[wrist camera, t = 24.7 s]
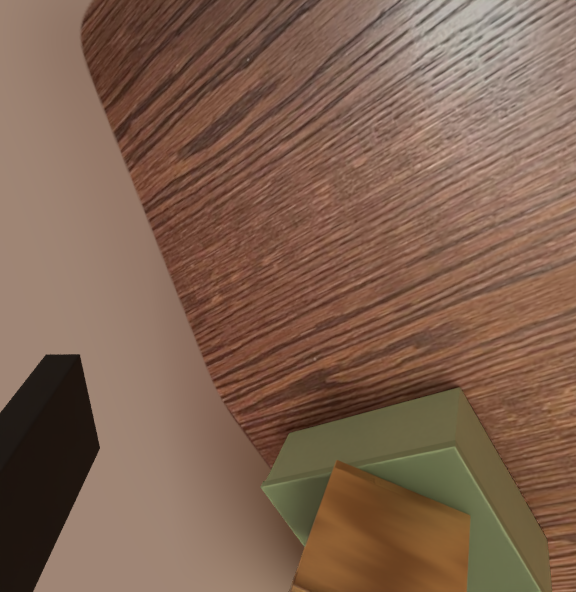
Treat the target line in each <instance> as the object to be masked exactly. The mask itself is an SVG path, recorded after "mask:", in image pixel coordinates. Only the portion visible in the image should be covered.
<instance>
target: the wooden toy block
mask: <svg viewBox="0 0 576 592" xmlns="http://www.w3.org/2000/svg"><path fill="white" fill-rule="evenodd" d="M469 537H470V515H468V514H466V513H463V512H461V511H459V510H456V509H454V508H451V507H449V506H447V505H444V504H442V503H439V502H437V501H435V500H432V499H430V498H427V497H425V496H423V495H420V494H418V493H415V492H413V491H411V490H408V489H406V488H403V487H401V486H399V485H396V484H394V483H391V482H389V481H387V480H384V479H382V478H379V477H377V476H375V475H372V474H370V473H367V472H365V471H363V470H360V469H358V468H355V467H353V466H351V465H348V464H346V463H343V462H341V461H339V460H336V462H335V465H334V467H333V470H332V473H331V476H330V478H329V481H328V484H327V487H326V489H325V492H324V495H323V498H322V500H321V503H320V506H319V509H318V512H317V514H316V517H315V520H314V523H313V525H312V528H311V531H310V534H309V536H308V539H307V542H306V545H305V548H304V550H303V554H302V556H301V559H300V562H299V565H298V567H297V570H296V573H295V576H294V578H293V581H292V584H291V587H290V590H289V592H467V576H468V557H469Z"/></svg>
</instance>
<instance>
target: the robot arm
mask: <svg viewBox="0 0 576 592" xmlns="http://www.w3.org/2000/svg"><path fill="white" fill-rule="evenodd" d="M99 449H100V446H99V441H98V437H97V432H96V427H95V423H94V418H93V414H92V409H91V404H90V400H89V395H88V391H87V386H86V381H85V377H84V372H83V367H82V363H81V358H80V355H79V354H77V355H76V354H71V355H70V354H69V355H45V357H44V358H43V359H42V360H41V362H40V363H39V364H38V365H37V367H36V368H35V369H34V371H33V372H32V373H31V374H30V376H29V377H28V378H27V380H26V381H25V382H24V383H23V385H22V386H21V387H20V389H19V390H18V391H17V392H16V393H15V395H14V396H13V397H12V399H11V400H10V401H9V403H8V404H7V405H6V407H5V408H4V409H3V410H2V411H1V413H0V592H33V590H34V588H35V586H36V584H37V582H38V580H39V577H40V575H41V573H42V571H43V569H44V567H45V565H46V562H47V561H48V558H49V556H50V554H51V552H52V550H53V548H54V545H55V543H56V541H57V539H58V537H59V535H60V533H61V530H62V528H63V526H64V524H65V522H66V520H67V518H68V516H69V513H70V511H71V509H72V507H73V505H74V502H75V501H76V498H77V496H78V494H79V492H80V490H81V487H82V486H83V483H84V481H85V479H86V477H87V475H88V473H89V471H90V468H91V466H92V464H93V462H94V460H95V458H96V456H97V453H98V451H99Z"/></svg>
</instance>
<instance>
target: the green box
mask: <svg viewBox="0 0 576 592" xmlns="http://www.w3.org/2000/svg"><path fill="white" fill-rule="evenodd" d="M336 460H339V461H341V462H343V463H346V464H348V465H351V466H353V467H355V468H358V469H360V470H363V471H365V472H367V473H370V474H372V475H375V476H377V477H379V478H382V479H384V480H387V481H389V482H391V483H394V484H396V485H399V486H401V487H403V488H406V489H408V490H411V491H413V492H415V493H418V494H420V495H423V496H425V497H427V498H430V499H432V500H435V501H437V502H439V503H442V504H444V505H447V506H449V507H451V508H454V509H456V510H459V511H461V512H463V513H466V514H468V515H470V537H469V557H468V576H467V592H552V584H551V574H550V563H549V553H548V542H547V539H546V537H545V535H544V533H543V532H542V530H541V528H540V526H539V525H538V523H537V521H536V519H535V518H534V516H533V514H532V512H531V511H530V509H529V507H528V505H527V504H526V502H525V500H524V498H523V497H522V495H521V493H520V491H519V490H518V488H517V486H516V484H515V483H514V481H513V479H512V477H511V476H510V474H509V472H508V470H507V469H506V467H505V465H504V463H503V462H502V460H501V458H500V456H499V455H498V453H497V451H496V449H495V448H494V446H493V444H492V442H491V441H490V439H489V437H488V435H487V434H486V432H485V430H484V428H483V427H482V425H481V423H480V421H479V420H478V418H477V416H476V414H475V413H474V411H473V409H472V407H471V406H470V404H469V402H468V400H467V399H466V397H465V395H464V393H463V392H462V390H461V388H460V387H458V388H455V389H451V390H447V391H444V392H440V393H436V394H432V395H429V396H425V397H421V398H418V399H414V400H410V401H407V402H403V403H399V404H396V405H392V406H388V407H384V408H381V409H377V410H373V411H370V412H366V413H362V414H359V415H355V416H351V417H347V418H344V419H340V420H336V421H333V422H329V423H325V424H322V425H318V426H314V427H311V428H307V429H303V430H299V431H296V432H292V433H289V434H288V436H287V439H286V441H285V443H284V445H283V447H282V449H281V451H280V453H279V455H278V457H277V459H276V461H275V463H274V465H273V467H272V469H271V471H270V473H269V475H268V477H267V480H266V481H263V483H262V485H261V488H262V490H263V491H264V492H265V494H266V495H267V497H268V498H269V499H270V501H271V502H272V503H273V505H274V506H275V508H276V509H277V510H278V512H279V513H280V514H281V516H282V517H283V518H284V520H285V521H286V522H287V524H288V525H289V526H290V528H291V529H292V531H293V532H294V533H295V534H296V536H297V537H298V539H299V540H300V541H301V543H302V544H303V545H304V547H305V545H306V542H307V539H308V536H309V534H310V531H311V528H312V525H313V523H314V520H315V517H316V514H317V512H318V509H319V506H320V503H321V500H322V498H323V495H324V492H325V489H326V487H327V484H328V481H329V478H330V476H331V473H332V470H333V467H334V465H335V462H336Z"/></svg>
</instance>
